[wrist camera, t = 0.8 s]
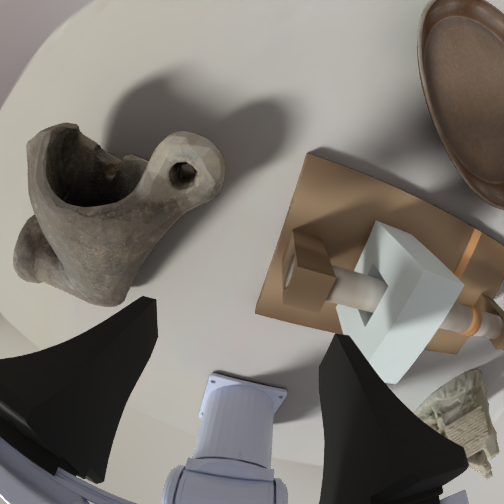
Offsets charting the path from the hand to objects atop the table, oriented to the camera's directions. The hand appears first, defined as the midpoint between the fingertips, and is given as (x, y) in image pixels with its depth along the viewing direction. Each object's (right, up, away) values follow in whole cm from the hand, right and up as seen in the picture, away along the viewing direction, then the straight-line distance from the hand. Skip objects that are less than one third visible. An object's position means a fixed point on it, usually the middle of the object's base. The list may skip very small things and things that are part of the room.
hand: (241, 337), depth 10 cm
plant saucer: (+19, +16, +2) cm, 25 cm away
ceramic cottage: (+27, -20, +17) cm, 38 cm away
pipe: (-10, +7, +9) cm, 15 cm away
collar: (+9, +2, +7) cm, 12 cm away
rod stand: (+13, +1, +9) cm, 16 cm away
